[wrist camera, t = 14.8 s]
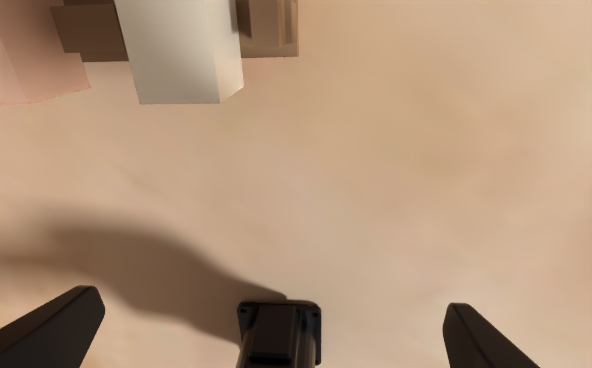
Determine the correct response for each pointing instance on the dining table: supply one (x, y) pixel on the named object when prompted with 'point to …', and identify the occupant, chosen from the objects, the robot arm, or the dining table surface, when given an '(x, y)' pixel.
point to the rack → (111, 47)
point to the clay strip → (35, 54)
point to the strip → (182, 49)
